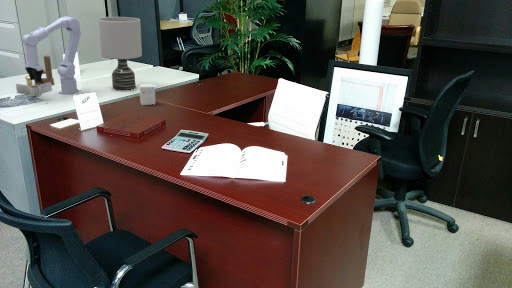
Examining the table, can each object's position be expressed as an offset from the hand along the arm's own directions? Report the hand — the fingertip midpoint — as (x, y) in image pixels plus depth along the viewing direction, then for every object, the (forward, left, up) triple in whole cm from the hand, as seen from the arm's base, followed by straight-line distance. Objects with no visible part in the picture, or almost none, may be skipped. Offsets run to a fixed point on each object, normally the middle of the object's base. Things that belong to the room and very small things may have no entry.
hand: (35, 81), depth 250 cm
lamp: (-32, +39, -10) cm, 51 cm away
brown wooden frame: (-29, -11, -10) cm, 33 cm away
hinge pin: (-16, -13, -10) cm, 23 cm away
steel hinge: (-10, -9, -10) cm, 16 cm away
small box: (-3, +63, -10) cm, 64 cm away
